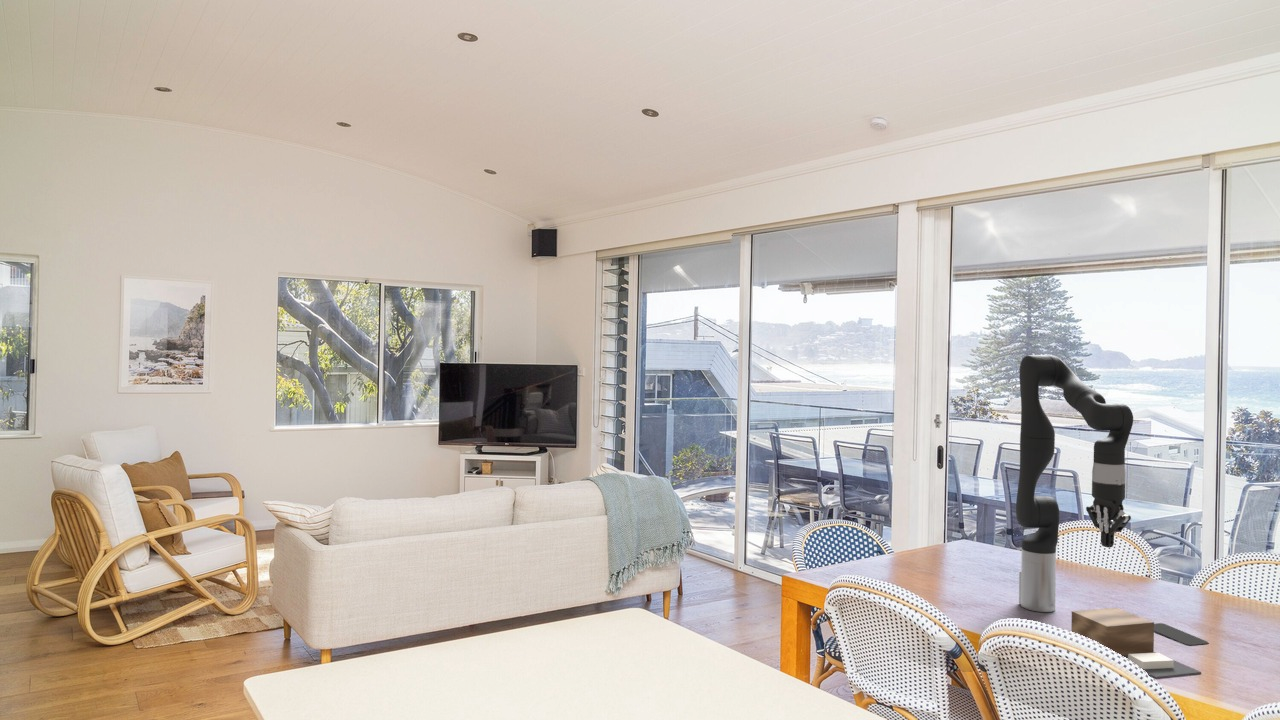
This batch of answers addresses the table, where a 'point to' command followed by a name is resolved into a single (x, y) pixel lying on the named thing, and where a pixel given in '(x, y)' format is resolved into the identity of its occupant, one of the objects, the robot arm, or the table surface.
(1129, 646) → the brown wooden block
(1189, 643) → the smartphone
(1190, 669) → the rubber mat
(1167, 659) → the card box
